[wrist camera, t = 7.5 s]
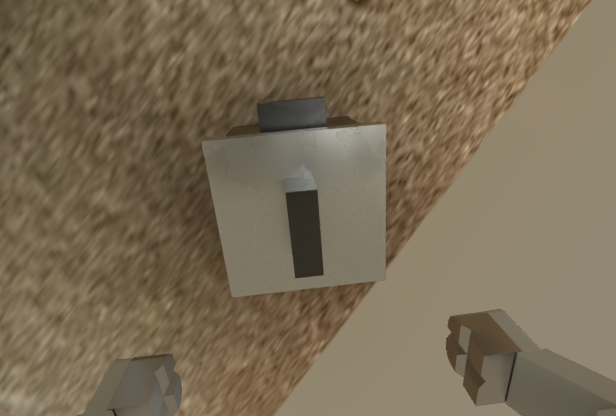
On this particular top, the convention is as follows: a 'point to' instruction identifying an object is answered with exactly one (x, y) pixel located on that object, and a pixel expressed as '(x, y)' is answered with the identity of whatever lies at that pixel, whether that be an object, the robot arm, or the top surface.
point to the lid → (300, 207)
